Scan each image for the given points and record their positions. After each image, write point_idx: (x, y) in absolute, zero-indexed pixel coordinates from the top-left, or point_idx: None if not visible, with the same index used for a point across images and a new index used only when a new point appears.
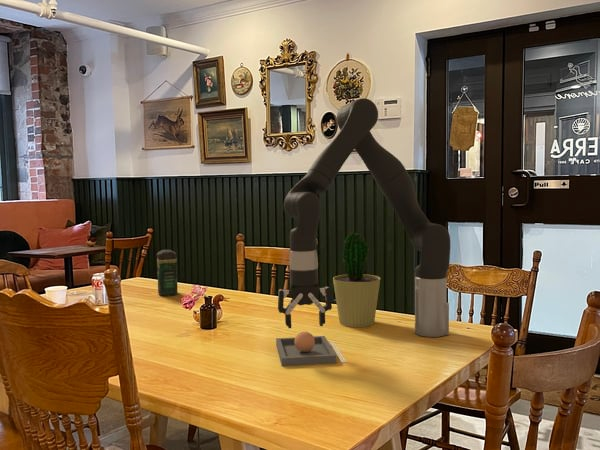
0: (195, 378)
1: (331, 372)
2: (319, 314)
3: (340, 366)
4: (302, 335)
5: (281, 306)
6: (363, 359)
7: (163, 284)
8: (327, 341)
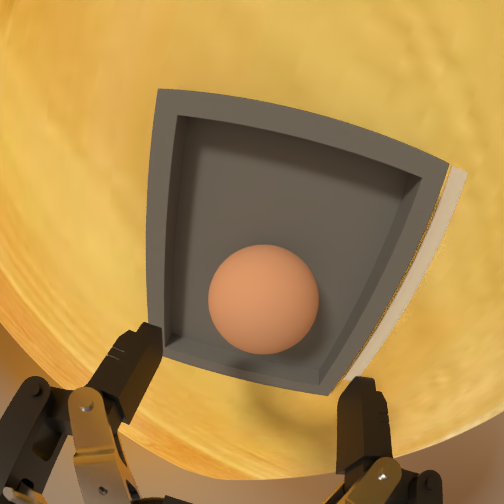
0: (15, 300)
1: (278, 407)
2: (352, 447)
3: None
4: (236, 346)
5: (49, 444)
6: (411, 373)
7: None
8: (406, 263)
